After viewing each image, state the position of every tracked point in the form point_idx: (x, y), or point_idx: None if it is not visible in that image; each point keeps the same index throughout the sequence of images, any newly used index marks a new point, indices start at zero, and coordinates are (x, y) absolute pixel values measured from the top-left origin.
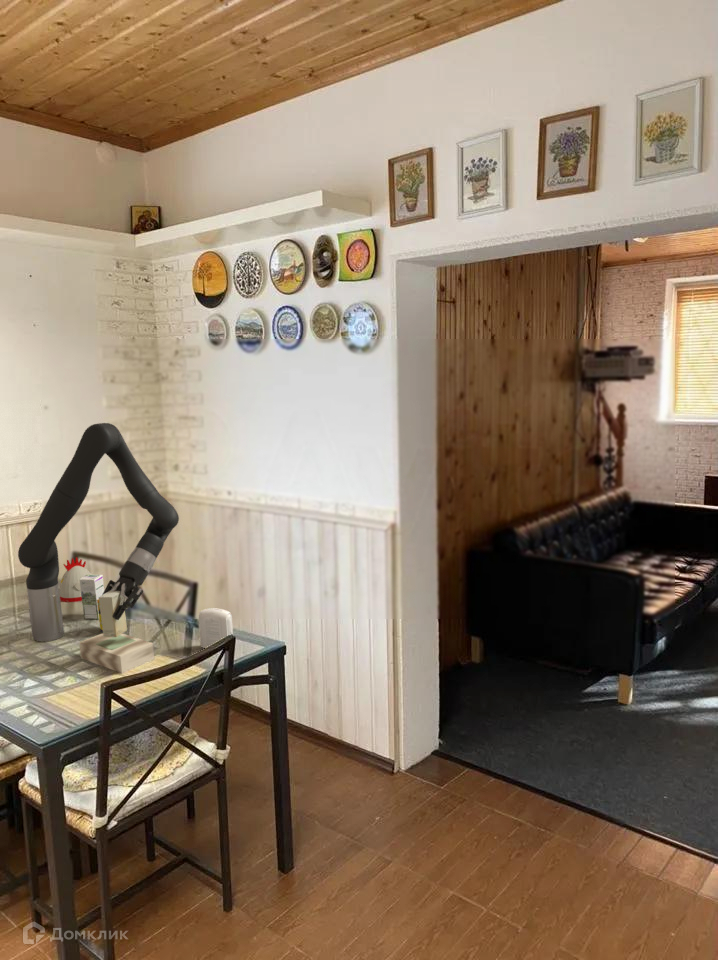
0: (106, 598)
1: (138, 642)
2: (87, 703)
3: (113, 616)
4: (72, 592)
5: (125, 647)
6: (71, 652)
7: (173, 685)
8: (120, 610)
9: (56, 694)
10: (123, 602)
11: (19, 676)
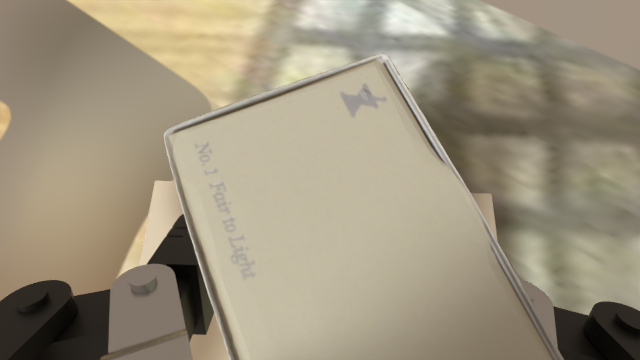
0: (259, 104)
1: (203, 352)
2: (123, 22)
3: None
4: None
5: None
6: (551, 230)
7: None
8: (159, 248)
9: (262, 14)
10: (113, 303)
11: (487, 30)
